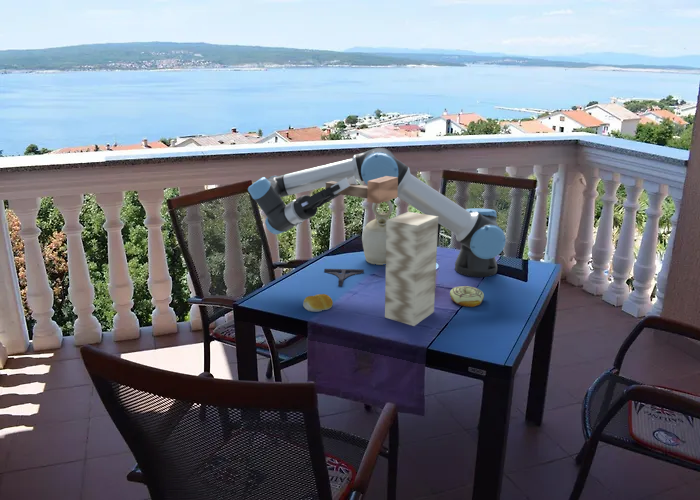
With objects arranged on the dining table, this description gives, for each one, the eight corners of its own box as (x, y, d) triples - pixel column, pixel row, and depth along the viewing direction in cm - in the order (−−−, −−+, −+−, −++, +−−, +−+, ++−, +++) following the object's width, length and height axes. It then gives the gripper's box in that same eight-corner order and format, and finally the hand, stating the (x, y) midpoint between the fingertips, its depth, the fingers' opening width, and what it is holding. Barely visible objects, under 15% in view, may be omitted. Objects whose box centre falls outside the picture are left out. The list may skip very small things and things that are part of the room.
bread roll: (337, 308, 171) (337, 296, 170) (312, 314, 166) (312, 302, 165) (323, 299, 178) (323, 287, 176) (299, 305, 173) (298, 293, 172)
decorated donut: (453, 308, 170) (454, 297, 169) (446, 295, 180) (447, 284, 179) (487, 307, 171) (488, 296, 169) (478, 294, 181) (478, 283, 180)
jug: (393, 269, 204) (394, 203, 196) (355, 263, 210) (355, 199, 202) (407, 257, 217) (409, 195, 209) (371, 252, 223) (371, 191, 215)
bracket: (319, 287, 189) (319, 279, 188) (324, 272, 203) (324, 265, 202) (361, 288, 188) (361, 281, 187) (363, 273, 202) (363, 266, 201)
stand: (384, 317, 164) (386, 220, 154) (405, 304, 173) (408, 211, 164) (414, 326, 158) (417, 225, 149) (433, 312, 167) (438, 216, 158)
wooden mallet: (318, 194, 168) (318, 174, 166) (338, 188, 176) (338, 169, 174) (379, 203, 156) (379, 182, 154) (397, 197, 163) (398, 177, 161)
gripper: (321, 214, 187) (371, 187, 172) (289, 225, 174) (340, 197, 159) (312, 194, 187) (361, 166, 172) (280, 203, 174) (330, 173, 159)
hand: (351, 181), depth 166 cm, fingers closed on wooden mallet, 3 cm apart
